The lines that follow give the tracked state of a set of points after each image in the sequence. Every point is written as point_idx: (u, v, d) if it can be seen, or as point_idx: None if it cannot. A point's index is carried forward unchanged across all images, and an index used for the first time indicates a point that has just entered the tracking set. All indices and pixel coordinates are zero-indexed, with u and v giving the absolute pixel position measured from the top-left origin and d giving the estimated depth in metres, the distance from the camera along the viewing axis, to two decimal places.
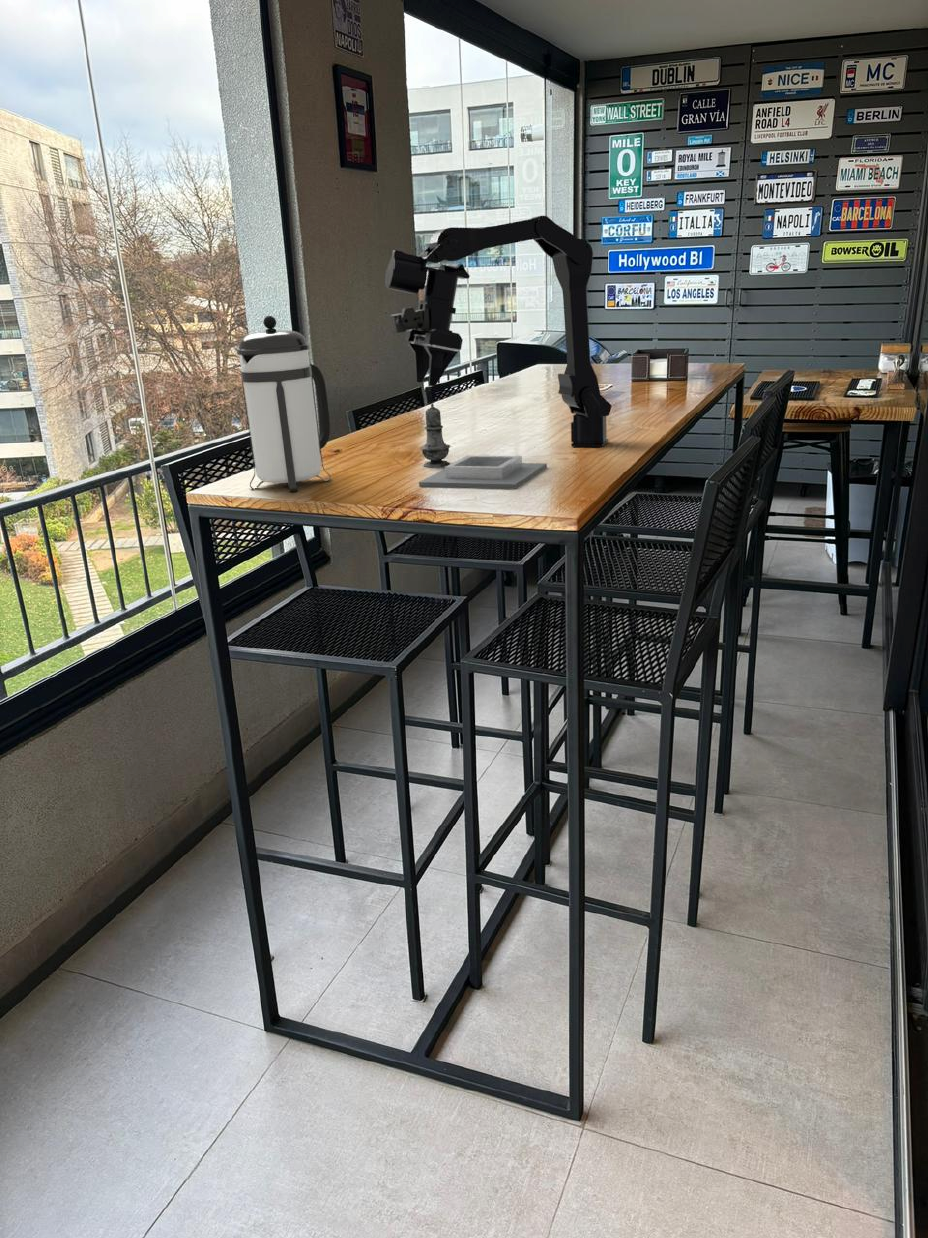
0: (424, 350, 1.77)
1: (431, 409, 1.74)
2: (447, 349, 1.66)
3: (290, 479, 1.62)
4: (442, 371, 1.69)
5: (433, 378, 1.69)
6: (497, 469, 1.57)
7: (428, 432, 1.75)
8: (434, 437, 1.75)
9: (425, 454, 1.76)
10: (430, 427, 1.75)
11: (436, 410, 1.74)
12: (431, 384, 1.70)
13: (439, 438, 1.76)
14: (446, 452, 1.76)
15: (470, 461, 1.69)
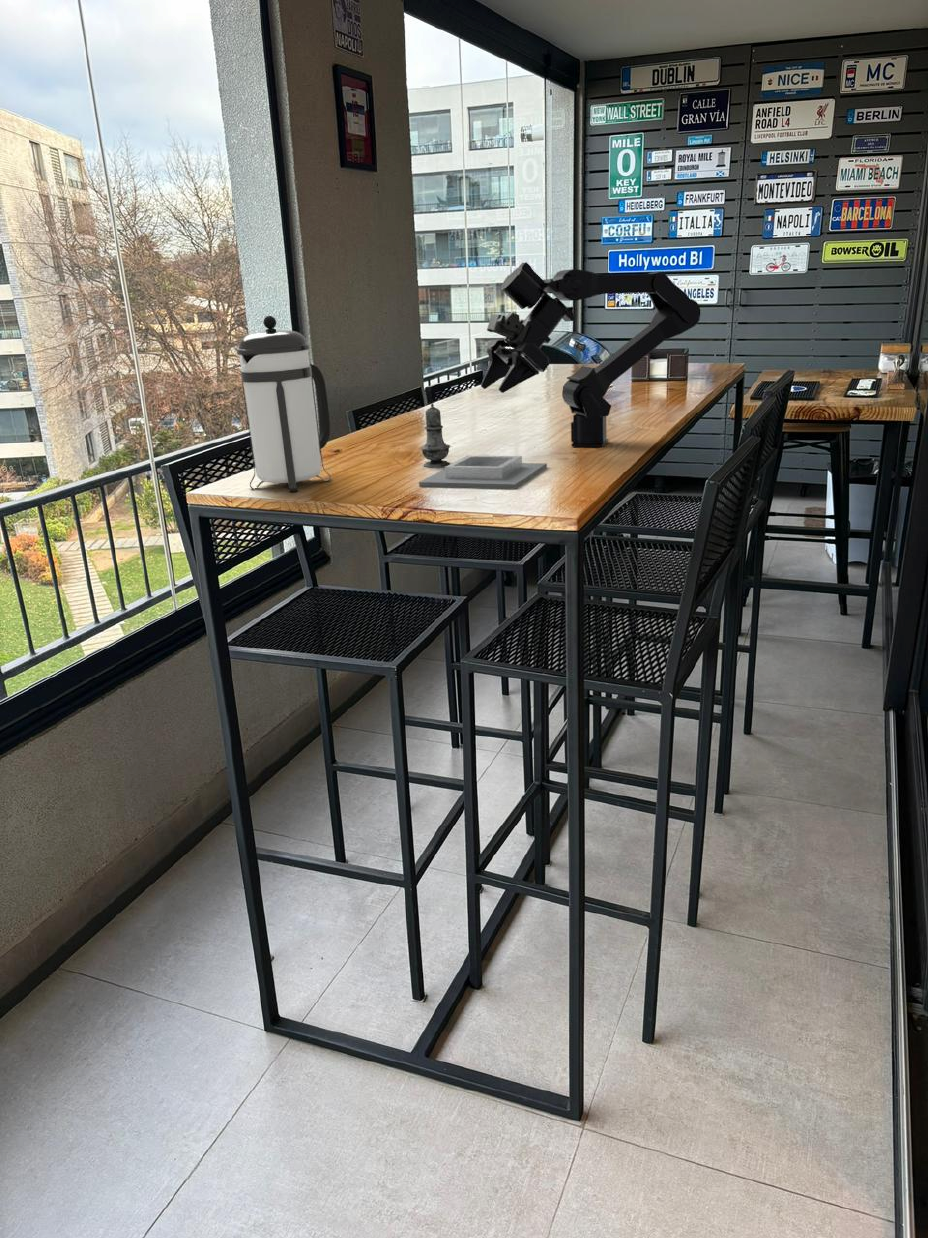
0: (500, 363, 1.83)
1: (431, 409, 1.74)
2: (532, 365, 1.71)
3: (290, 479, 1.62)
4: (516, 383, 1.74)
5: (505, 384, 1.74)
6: (497, 469, 1.57)
7: (428, 432, 1.75)
8: (434, 437, 1.75)
9: (425, 454, 1.76)
10: (430, 427, 1.75)
11: (436, 410, 1.74)
12: (500, 389, 1.74)
13: (439, 438, 1.76)
14: (446, 452, 1.76)
15: (470, 461, 1.69)
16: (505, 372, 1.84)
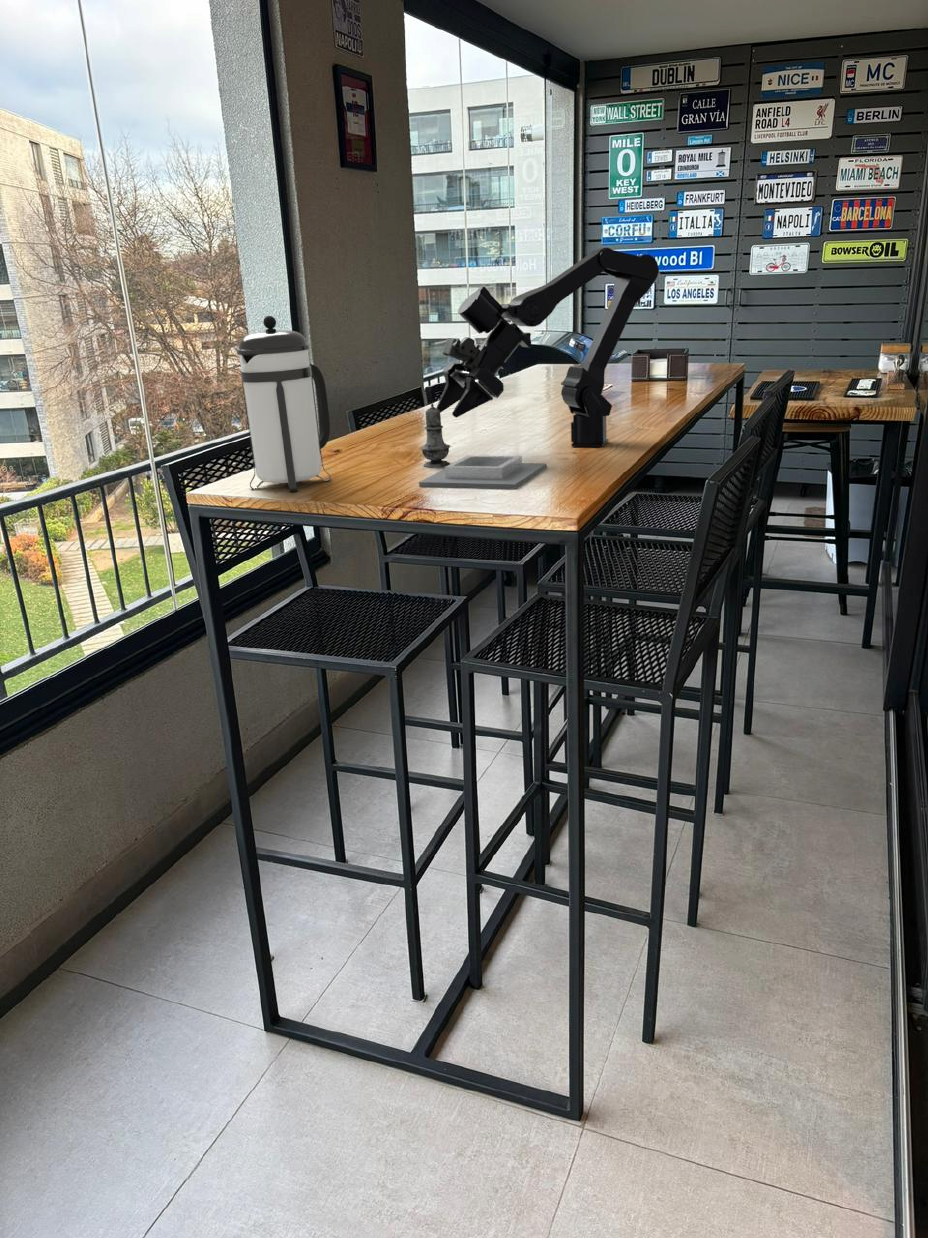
0: (456, 387, 1.80)
1: (431, 409, 1.74)
2: (486, 391, 1.69)
3: (290, 479, 1.62)
4: (470, 408, 1.72)
5: (459, 409, 1.71)
6: (497, 469, 1.57)
7: (428, 432, 1.75)
8: (434, 437, 1.75)
9: (425, 454, 1.76)
10: (430, 427, 1.75)
11: (436, 410, 1.74)
12: (454, 414, 1.72)
13: (439, 438, 1.76)
14: (446, 452, 1.76)
15: (470, 461, 1.69)
16: (461, 396, 1.81)
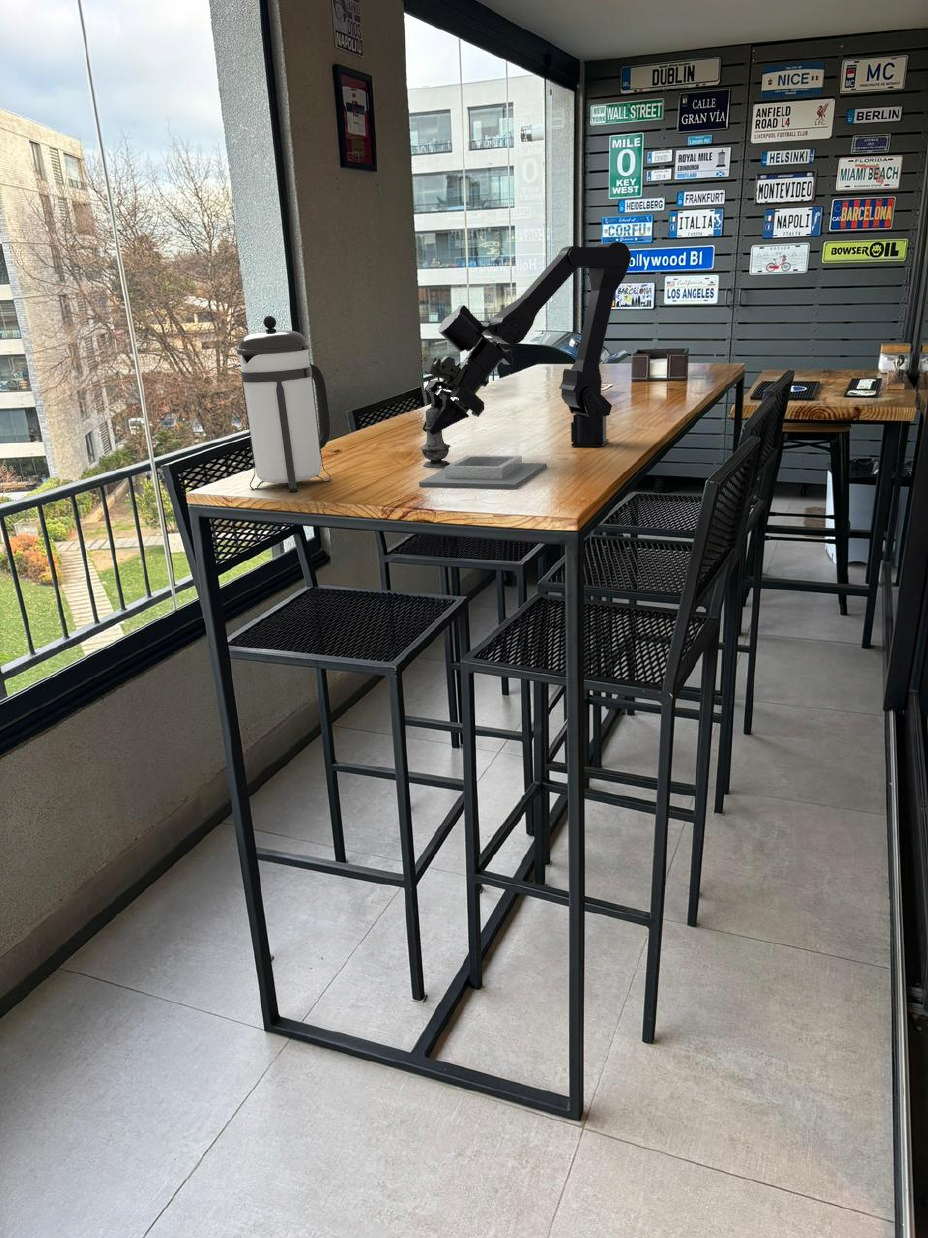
0: (443, 406, 1.78)
1: (431, 409, 1.74)
2: (462, 408, 1.71)
3: (290, 479, 1.62)
4: (446, 425, 1.74)
5: (435, 426, 1.73)
6: (497, 469, 1.57)
7: (428, 432, 1.75)
8: (434, 437, 1.75)
9: (425, 454, 1.76)
10: (430, 427, 1.75)
11: (436, 410, 1.74)
12: (431, 431, 1.74)
13: (439, 438, 1.76)
14: (446, 452, 1.76)
15: (470, 461, 1.69)
16: None
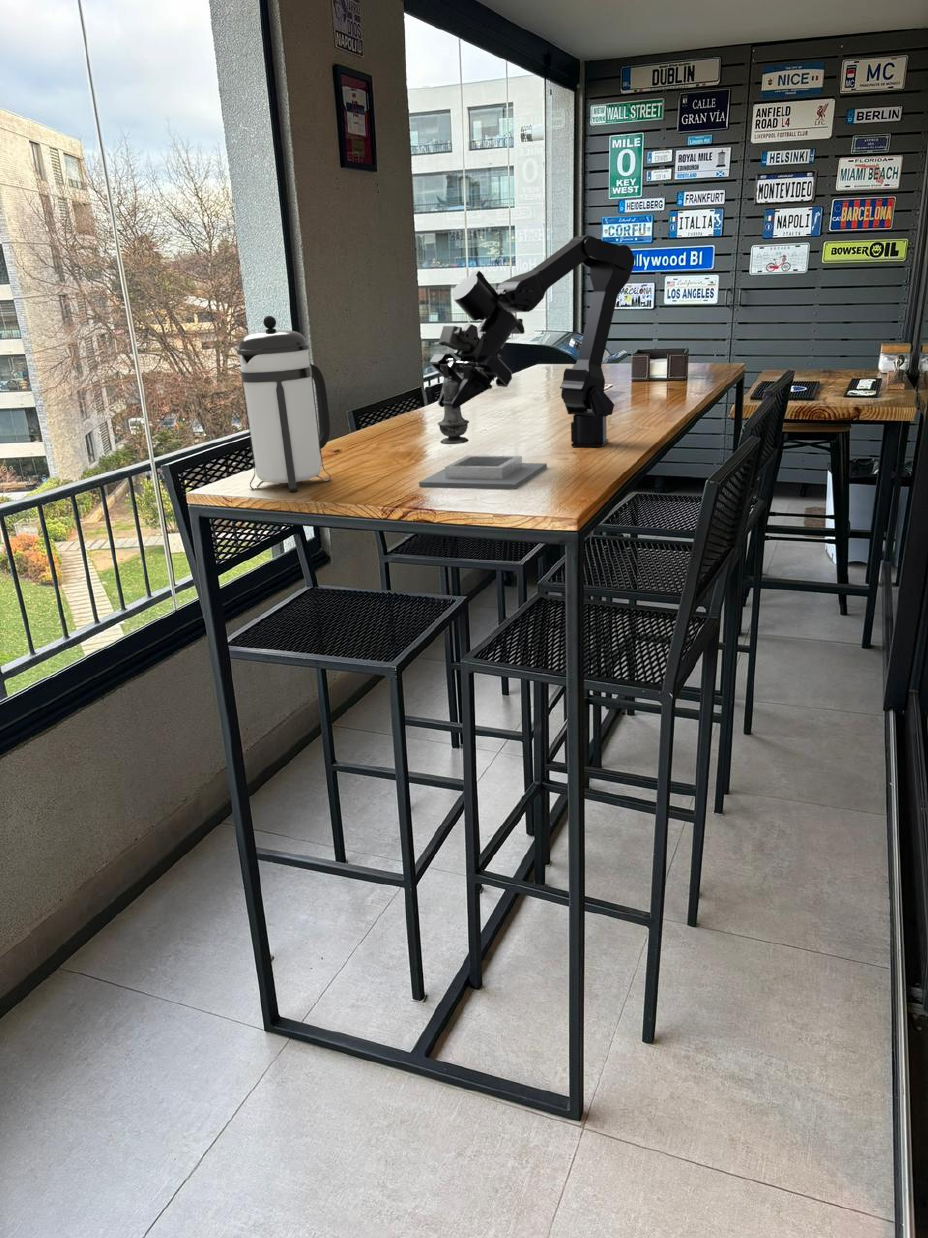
0: (456, 379, 1.69)
1: (450, 382, 1.64)
2: (486, 379, 1.63)
3: (290, 479, 1.62)
4: (468, 398, 1.65)
5: (458, 400, 1.64)
6: (497, 469, 1.57)
7: (447, 407, 1.66)
8: (455, 412, 1.66)
9: (445, 430, 1.66)
10: (450, 401, 1.65)
11: (456, 383, 1.65)
12: (453, 405, 1.64)
13: (459, 412, 1.66)
14: None
15: (470, 461, 1.69)
16: None
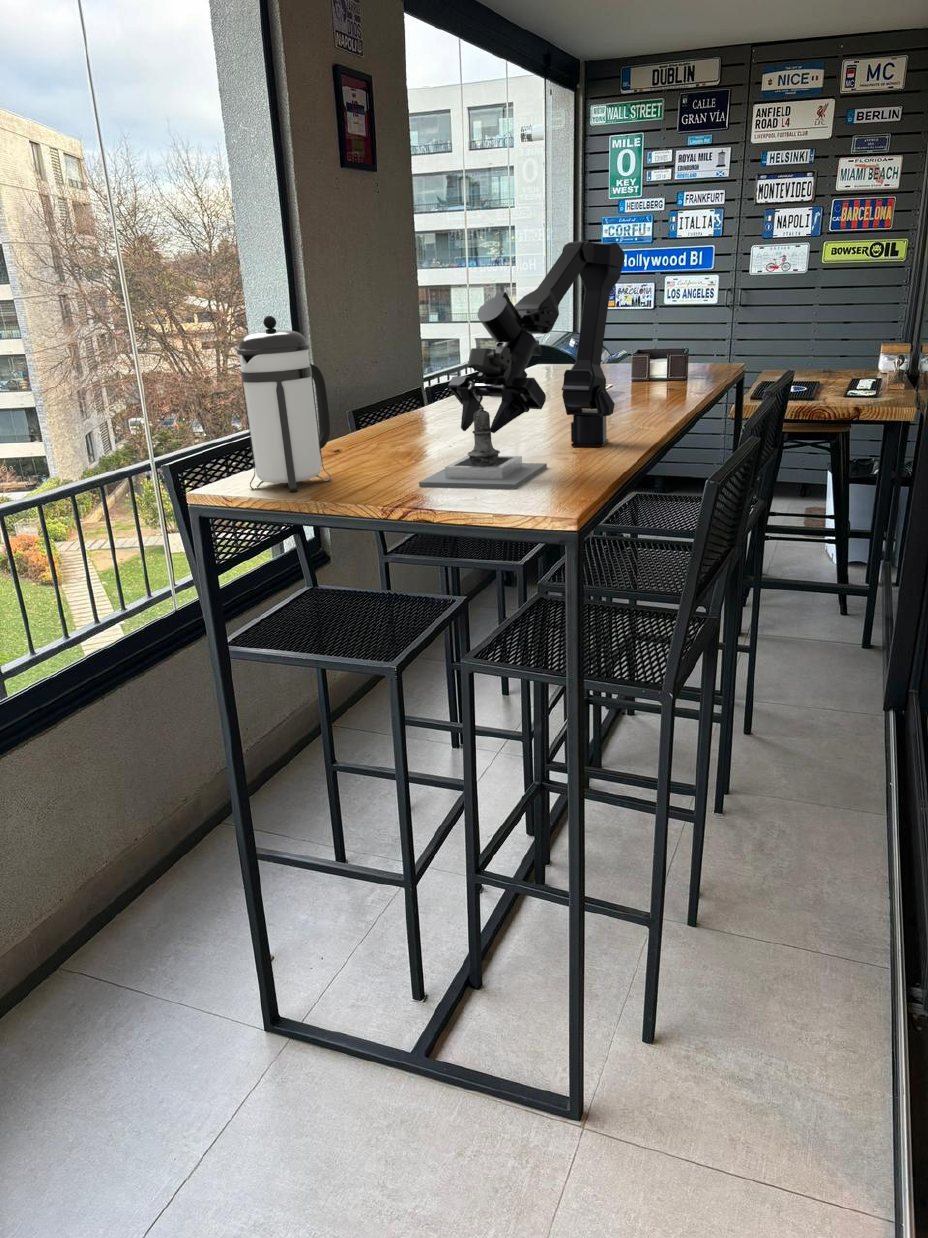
0: (475, 402, 1.65)
1: (482, 411, 1.60)
2: (525, 402, 1.59)
3: (290, 479, 1.62)
4: (506, 422, 1.60)
5: (497, 424, 1.59)
6: (497, 469, 1.57)
7: (479, 437, 1.61)
8: (487, 442, 1.62)
9: (479, 461, 1.62)
10: (482, 431, 1.61)
11: (487, 412, 1.61)
12: (493, 429, 1.58)
13: (491, 442, 1.62)
14: None
15: (470, 461, 1.69)
16: None
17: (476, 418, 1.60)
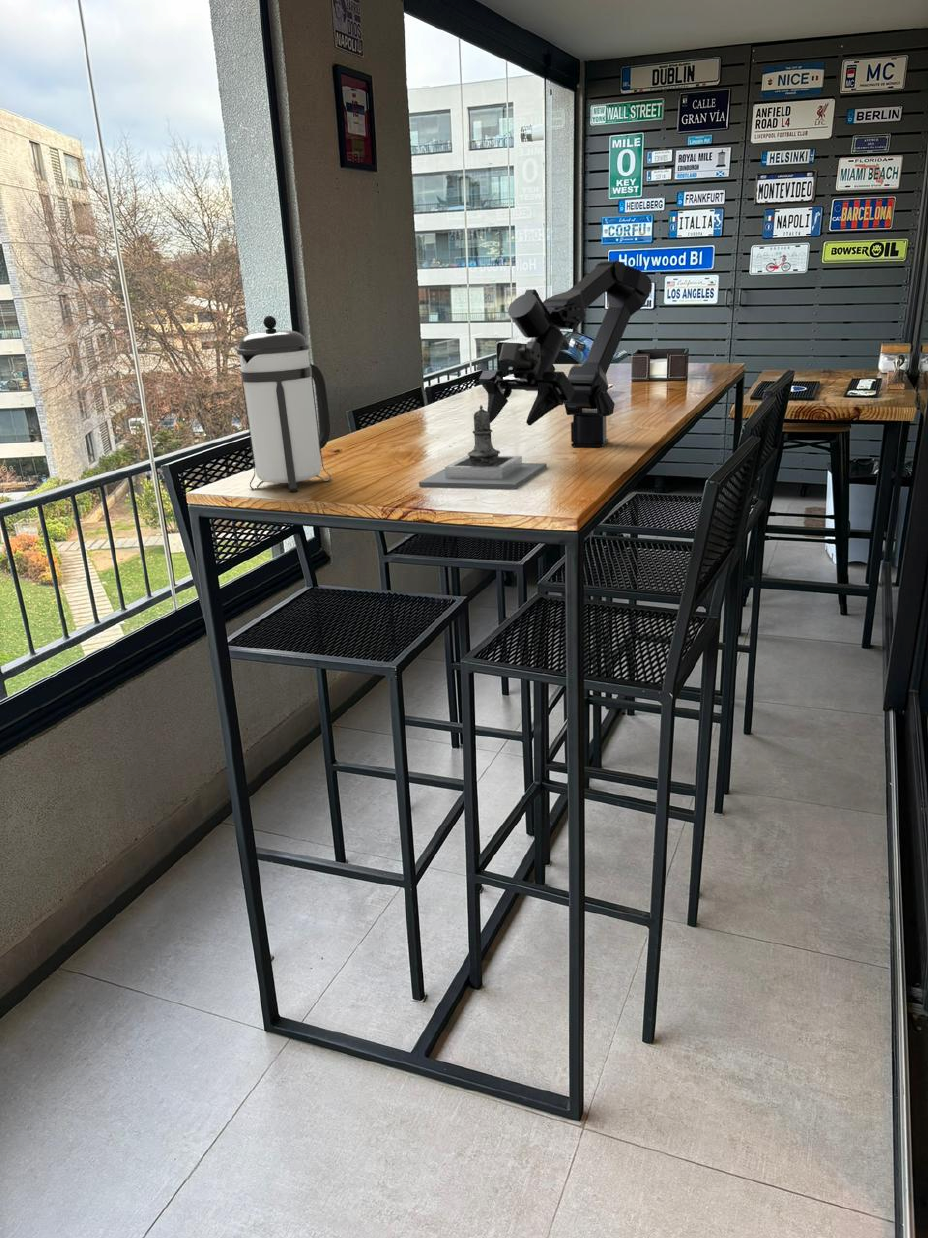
0: (500, 395, 1.72)
1: (482, 412, 1.60)
2: (559, 395, 1.65)
3: (290, 479, 1.62)
4: (542, 415, 1.65)
5: (533, 416, 1.64)
6: (497, 469, 1.57)
7: (479, 437, 1.61)
8: (487, 442, 1.62)
9: (479, 461, 1.62)
10: (482, 431, 1.61)
11: (487, 412, 1.61)
12: (529, 422, 1.64)
13: (491, 442, 1.62)
14: None
15: (470, 461, 1.69)
16: (503, 404, 1.73)
17: (476, 418, 1.60)
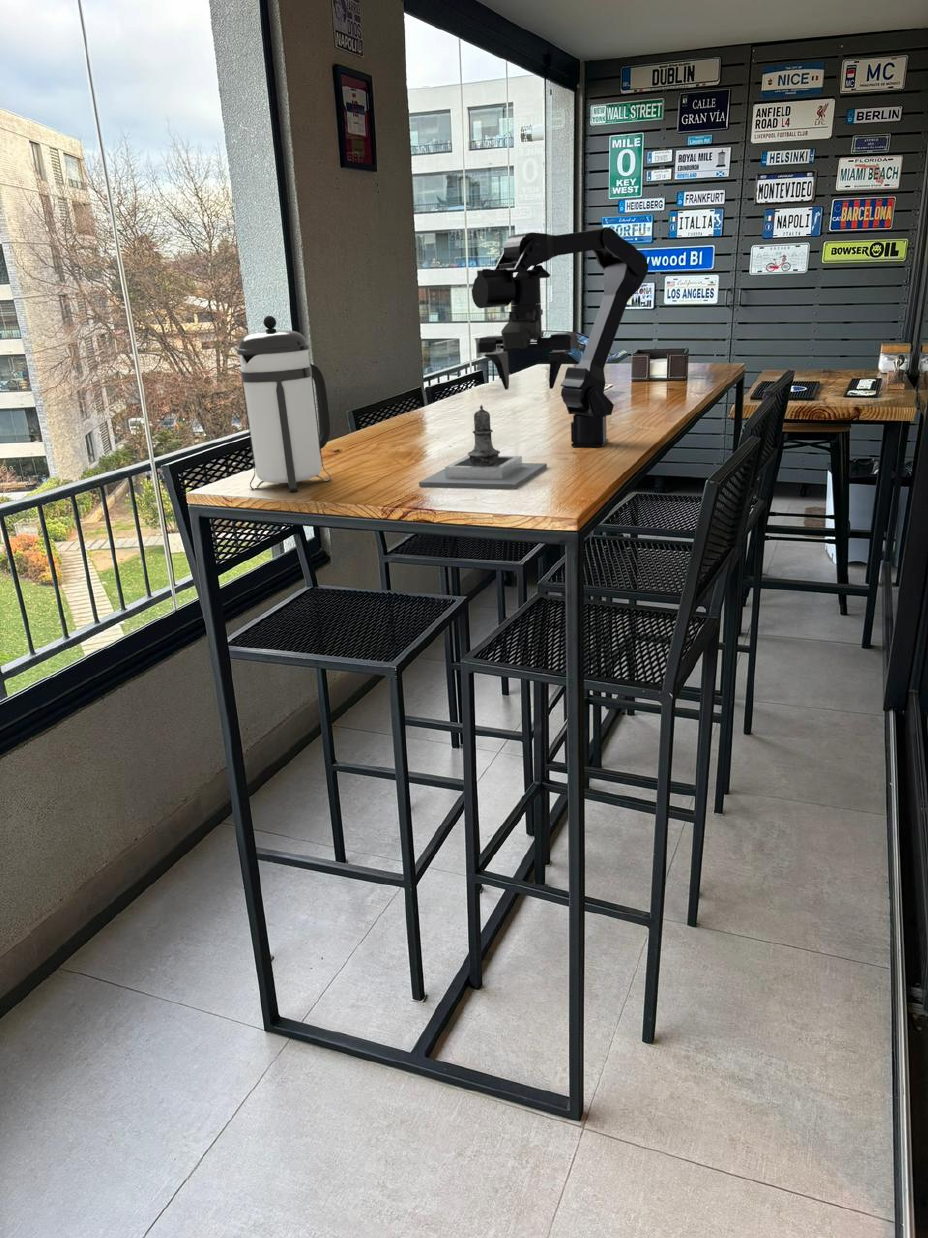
0: (503, 357, 1.77)
1: (482, 412, 1.60)
2: (568, 350, 1.73)
3: (290, 479, 1.62)
4: None
5: (553, 380, 1.75)
6: (497, 469, 1.57)
7: (479, 437, 1.61)
8: (487, 442, 1.62)
9: (479, 461, 1.62)
10: (482, 431, 1.61)
11: (487, 412, 1.61)
12: (552, 387, 1.75)
13: (491, 442, 1.62)
14: None
15: (470, 461, 1.69)
16: (507, 359, 1.79)
17: (476, 418, 1.60)
